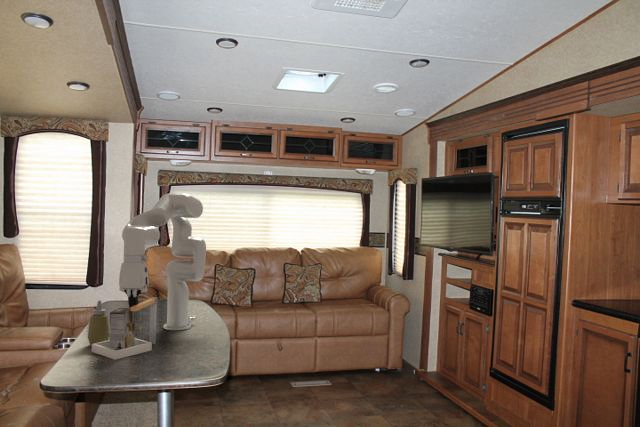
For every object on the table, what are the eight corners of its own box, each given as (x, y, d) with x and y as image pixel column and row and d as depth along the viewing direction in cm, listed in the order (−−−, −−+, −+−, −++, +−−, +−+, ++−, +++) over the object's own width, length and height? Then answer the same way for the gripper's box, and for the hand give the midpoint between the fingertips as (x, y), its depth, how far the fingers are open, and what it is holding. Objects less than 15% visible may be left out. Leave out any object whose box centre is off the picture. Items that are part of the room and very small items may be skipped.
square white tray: (143, 339, 208) (144, 300, 208) (167, 346, 199) (168, 304, 199) (91, 351, 189) (92, 308, 189) (115, 359, 180) (116, 314, 180)
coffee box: (118, 347, 196) (119, 307, 196) (134, 348, 196) (135, 307, 196) (108, 354, 187) (109, 312, 186) (125, 354, 186) (126, 312, 186)
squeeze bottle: (85, 348, 193) (86, 302, 193) (89, 343, 201) (90, 299, 201) (107, 347, 195) (108, 302, 195) (110, 342, 203) (111, 298, 203)
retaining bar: (151, 301, 204) (151, 297, 204) (158, 301, 204) (158, 297, 204) (129, 311, 184) (129, 306, 184) (137, 311, 183) (137, 307, 183)
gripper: (157, 258, 192) (155, 305, 192) (120, 257, 193) (119, 304, 193) (148, 260, 184) (147, 309, 185) (110, 259, 186) (109, 307, 186)
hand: (133, 306), depth 189 cm, fingers closed
